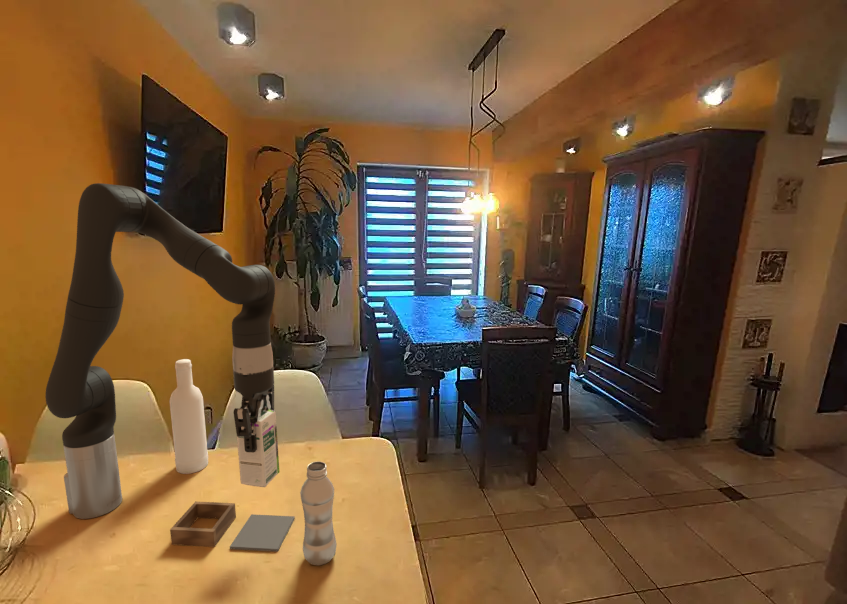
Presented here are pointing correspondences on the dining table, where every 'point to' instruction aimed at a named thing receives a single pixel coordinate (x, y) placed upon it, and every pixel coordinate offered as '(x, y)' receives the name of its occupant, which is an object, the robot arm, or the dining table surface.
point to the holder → (201, 536)
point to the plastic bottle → (318, 515)
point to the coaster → (263, 533)
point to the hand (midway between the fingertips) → (258, 442)
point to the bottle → (188, 422)
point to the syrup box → (260, 453)
